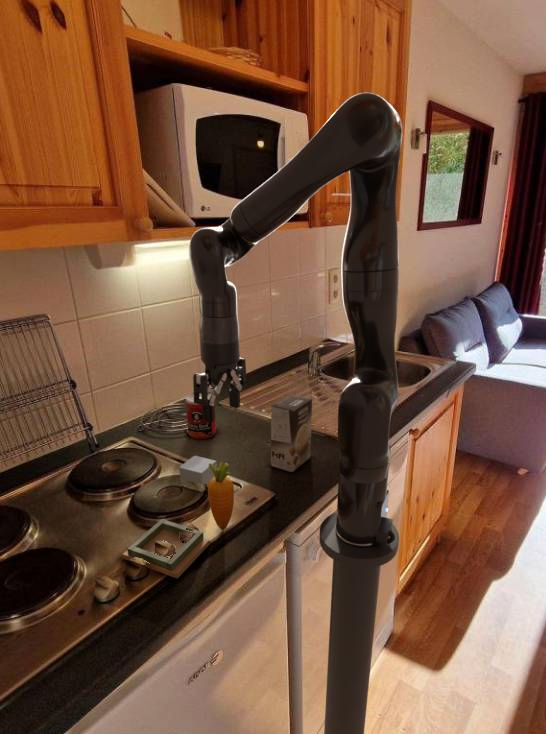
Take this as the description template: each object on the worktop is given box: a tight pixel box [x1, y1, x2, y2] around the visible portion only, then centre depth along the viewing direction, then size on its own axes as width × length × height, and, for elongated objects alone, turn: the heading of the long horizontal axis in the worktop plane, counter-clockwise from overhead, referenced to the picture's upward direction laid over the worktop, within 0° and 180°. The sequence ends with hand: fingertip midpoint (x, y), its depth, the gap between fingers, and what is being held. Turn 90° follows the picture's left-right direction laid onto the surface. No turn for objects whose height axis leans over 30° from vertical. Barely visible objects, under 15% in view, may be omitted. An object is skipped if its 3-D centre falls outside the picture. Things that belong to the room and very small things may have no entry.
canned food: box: [185, 392, 217, 440], centre depth 131 cm, size 8×8×11 cm
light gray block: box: [178, 455, 218, 485], centre depth 109 cm, size 6×6×5 cm
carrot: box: [207, 461, 235, 531], centre depth 91 cm, size 5×5×15 cm
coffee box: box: [270, 394, 313, 473], centre depth 116 cm, size 9×6×16 cm
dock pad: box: [122, 518, 211, 580], centre depth 87 cm, size 12×10×2 cm
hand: (222, 413), depth 98 cm, fingers open, 8 cm apart
